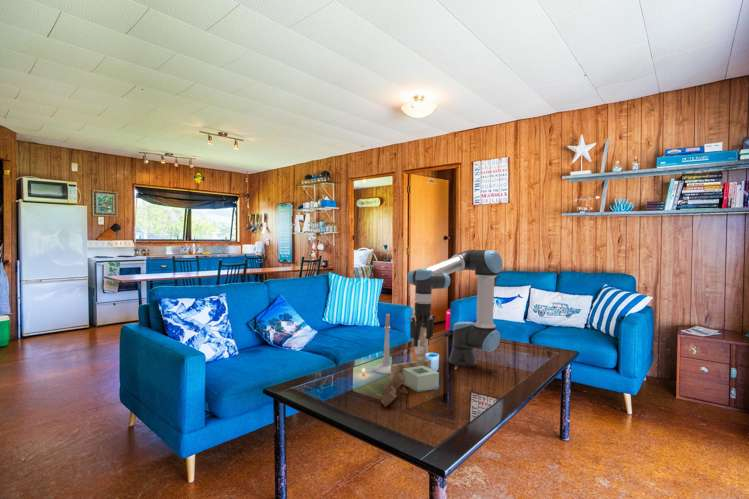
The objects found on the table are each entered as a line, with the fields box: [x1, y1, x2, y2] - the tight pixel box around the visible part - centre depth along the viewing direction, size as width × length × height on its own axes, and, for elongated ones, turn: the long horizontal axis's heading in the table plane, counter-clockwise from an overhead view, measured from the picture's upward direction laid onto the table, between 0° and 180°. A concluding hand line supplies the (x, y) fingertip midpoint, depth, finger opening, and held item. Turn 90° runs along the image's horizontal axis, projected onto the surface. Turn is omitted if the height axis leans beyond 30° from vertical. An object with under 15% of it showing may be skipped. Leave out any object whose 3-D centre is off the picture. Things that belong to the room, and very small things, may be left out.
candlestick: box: [373, 313, 392, 375], centre depth 205 cm, size 13×13×30 cm
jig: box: [389, 358, 432, 382], centre depth 179 cm, size 22×21×10 cm
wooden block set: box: [380, 373, 409, 408], centre depth 167 cm, size 18×9×10 cm
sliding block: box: [401, 365, 440, 393], centre depth 181 cm, size 12×12×7 cm
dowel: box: [415, 325, 426, 363], centre depth 181 cm, size 4×4×16 cm
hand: (421, 352), depth 181 cm, fingers closed on dowel, 4 cm apart
